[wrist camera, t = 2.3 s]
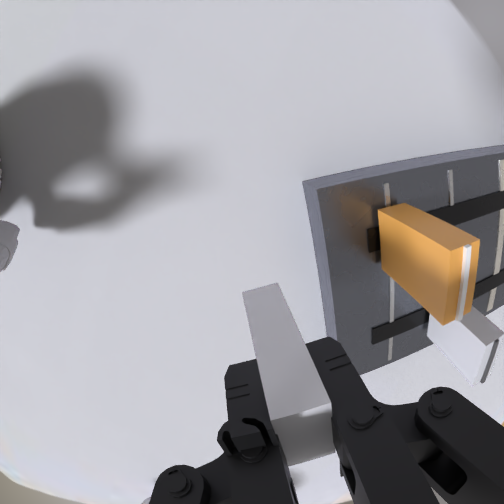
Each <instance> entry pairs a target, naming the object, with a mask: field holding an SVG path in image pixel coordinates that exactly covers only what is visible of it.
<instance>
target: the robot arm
mask: <svg viewBox="0 0 504 504" xmlns="http://www.w3.org/2000/svg"><path fill="white" fill-rule="evenodd" d="M242 294H243V299H244V303H245V308H246V313H247V317H248V322H249V327H250V331H251V336H252V340H253V345H254V350H255V354H256V359H254V360H250V361H246V362H242V363H238V364H234V365H229V367H228V370H227V372H226V374H225V377H224V380H225V389H226V399H227V411H228V421H227V422H226V423H224V424H223V426H222V427H221V429H220V430H219V432H218V437H217V441H218V443H219V444H220V446H221V448H222V449H223V451H224V453H223V454H222V455H221V456H220V457H219V458H217V459H215V460H214V461H212V462H210V463H207V464H205V465H203V466H201V467H198V468H196V469H195V468H194V467H191V466H187V465H175V466H173V467H170V468H168V469H166V470H165V471H164V472H162V473H161V474H160V476H159V477H158V479H157V481H156V483H155V486H154V489H153V492H152V495H151V499H150V502H149V504H299V503H298V499H297V495H296V492H295V488H294V484H293V481H292V478H291V476H290V472H289V468H288V466H292V465H295V464H299V463H303V462H306V461H310V460H313V459H316V458H320V457H323V456H326V455H329V454H332V453H335V449H336V451H337V454H338V456H339V459H340V474H341V477H342V476H344V478H345V481H346V484H347V486H348V489H349V491H350V494H351V497H352V499H353V502H354V504H439V502H438V500H437V498H436V496H435V495H434V493H433V491H432V489H431V487H432V488H433V489H434V490H435V491H436V492H437V493H438V494H439V495H440V496H441V497H442V498H443V499H444V500H445V501H446V502H447V503H448V504H504V427H503V426H502V425H500V424H499V423H498V422H496V421H495V420H494V419H493V418H491V417H490V416H489V415H487V414H486V413H485V412H483V411H482V410H481V409H479V408H478V407H477V406H475V405H474V404H473V403H471V402H470V401H469V400H467V399H466V398H465V397H463V396H462V395H461V394H459V393H458V392H457V391H455V390H453V389H451V388H447V387H437V388H432V389H430V390H428V391H427V392H425V393H424V394H423V395H422V396H421V397H420V399H419V402H415V403H409V404H403V405H387V404H383V403H381V402H378V401H377V400H376V399H374V398H373V397H372V395H371V394H370V393H369V391H368V389H367V388H366V386H365V384H364V382H363V381H362V379H361V377H360V375H359V374H358V372H357V370H356V369H355V367H354V365H353V364H352V362H351V360H350V358H349V357H348V356H347V353H346V352H345V350H344V348H343V347H342V345H341V343H339V342H338V341H336V340H335V339H333V338H332V337H330V336H329V337H326V338H323V339H319V340H316V341H313V342H310V343H307V344H305V342H304V340H303V338H302V336H301V333H300V331H299V329H298V327H297V325H296V322H295V320H294V318H293V316H292V313H291V311H290V309H289V307H288V305H287V302H286V300H285V298H284V296H283V293H282V291H281V289H280V287H279V285H278V283H274V284H271V285H267V286H264V287H260V288H256V289H253V290H249V291H245V292H242ZM430 486H431V487H430Z"/></svg>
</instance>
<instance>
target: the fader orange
mask: <svg viewBox="0 0 504 504" xmlns="http://www.w3.org/2000/svg"><path fill="white" fill-rule="evenodd" d="M378 219H379V231H380V246H381V264H382V270H383V271H384V272H386V273H387V274H388V275H389V276H390V277H391V278H392V279H393V280H394V281H396V282H397V283H398V284H399V285H400V286H401V287H402V288H403V289H404V290H405V291H407V292H408V293H409V294H410V295H411V296H412V297H413V298H414V299H415V300H416V301H417V302H418V303H419V304H421V305H422V306H423V307H424V308H425V309H426V310H427V311H428V312H429V313H430V314H431V315H432V316H433V317H434V318H435V319H436V320H437V321H438V322H439V323H440V324H441V325H442V326H444V325H446V324H448V323H450V322H452V321H454V320H456V321H457V322H459V321H461V320H462V318H463V315H465V314H467V313H469V312H471V307H472V301H473V295H474V289H475V282H476V274H477V266H478V257H479V246H480V239H478V238H476V237H474V236H473V235H471V234H469V233H467V232H465V231H463V230H461V229H459V228H457V227H455V226H453V225H451V224H449V223H447V222H445V221H443V220H441V219H439V218H437V217H435V216H432V215H430V214H428V213H426V212H424V211H422V210H420V209H417V208H415V207H413V206H411V205H409V204H406V203H401V204H397V205H393V206H390V207H386V208H382V209H378Z"/></svg>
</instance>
